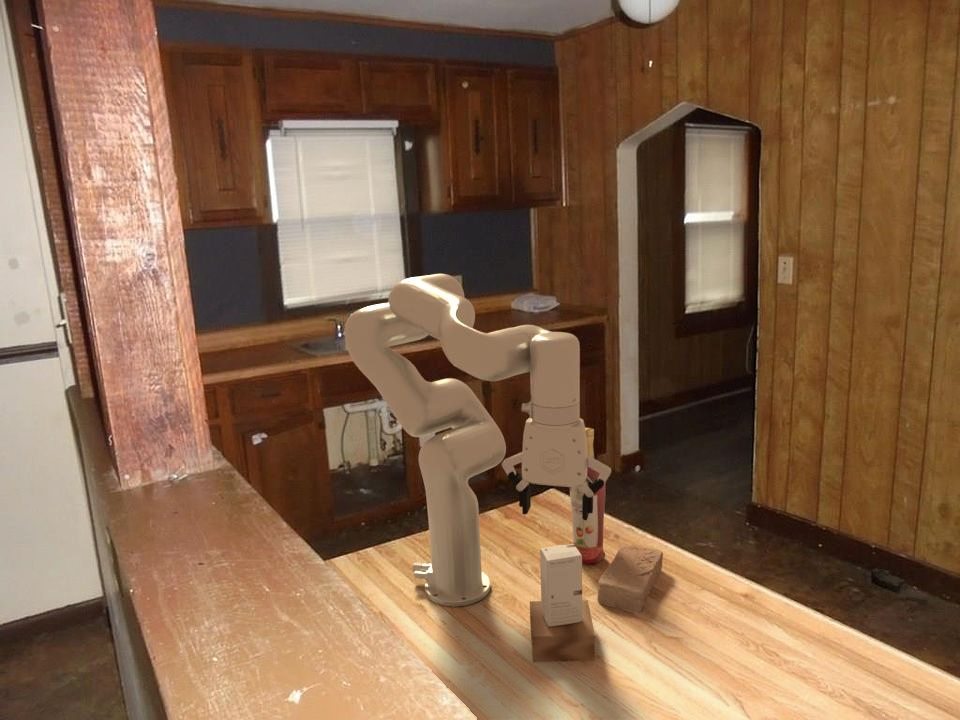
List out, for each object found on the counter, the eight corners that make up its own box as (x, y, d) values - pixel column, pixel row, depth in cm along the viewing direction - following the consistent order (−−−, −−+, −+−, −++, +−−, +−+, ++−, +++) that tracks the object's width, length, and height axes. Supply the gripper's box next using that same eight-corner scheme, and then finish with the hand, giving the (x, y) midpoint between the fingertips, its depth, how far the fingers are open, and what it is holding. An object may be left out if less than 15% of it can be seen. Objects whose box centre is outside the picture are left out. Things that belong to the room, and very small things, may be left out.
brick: (640, 615, 124) (640, 591, 123) (595, 604, 128) (595, 581, 127) (663, 571, 138) (663, 549, 137) (622, 562, 142) (622, 541, 141)
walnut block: (532, 664, 112) (532, 636, 111) (530, 626, 122) (529, 601, 121) (595, 663, 112) (595, 635, 111) (587, 625, 122) (587, 600, 121)
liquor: (613, 558, 143) (612, 428, 137) (593, 572, 138) (592, 438, 132) (583, 547, 148) (581, 421, 142) (563, 561, 143) (560, 431, 136)
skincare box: (548, 628, 113) (546, 561, 110) (540, 612, 117) (538, 547, 114) (584, 621, 114) (583, 555, 111) (575, 606, 119) (573, 542, 116)
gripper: (495, 416, 107) (498, 518, 111) (609, 423, 102) (607, 530, 106) (506, 402, 114) (509, 499, 118) (614, 408, 109) (612, 508, 113)
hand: (555, 513), depth 112 cm, fingers open, 9 cm apart
